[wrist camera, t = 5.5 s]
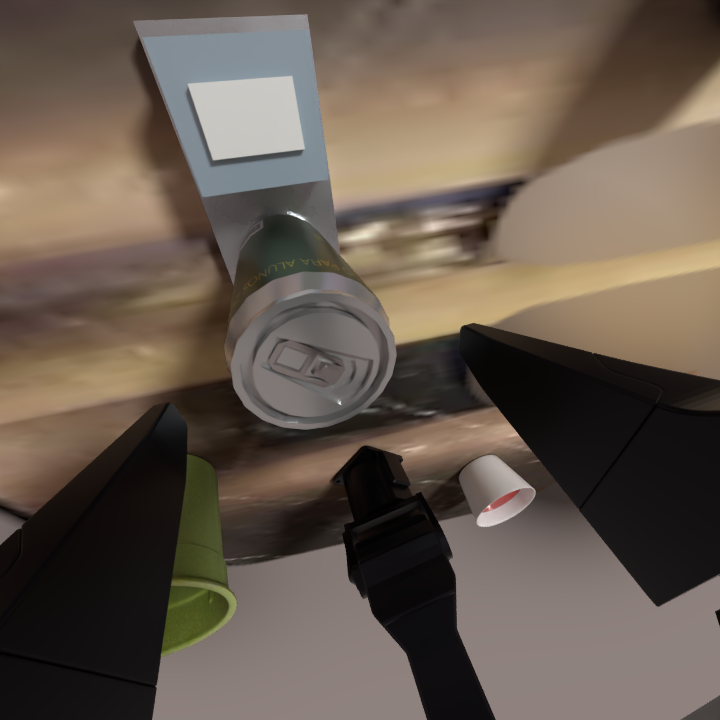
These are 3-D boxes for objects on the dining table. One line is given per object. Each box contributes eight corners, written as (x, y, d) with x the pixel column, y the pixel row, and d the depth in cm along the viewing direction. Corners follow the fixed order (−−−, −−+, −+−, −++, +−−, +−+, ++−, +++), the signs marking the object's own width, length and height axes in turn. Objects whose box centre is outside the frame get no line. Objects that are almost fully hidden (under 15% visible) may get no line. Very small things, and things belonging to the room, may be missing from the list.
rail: (352, 362, 25) (355, 368, 25) (272, 383, 24) (273, 390, 23) (304, 23, 13) (307, 14, 13) (141, 29, 12) (133, 20, 11)
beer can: (224, 276, 18) (191, 413, 8) (262, 191, 16) (274, 240, 6) (303, 312, 20) (346, 445, 11) (343, 243, 18) (435, 332, 9)
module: (320, 176, 16) (330, 179, 14) (208, 192, 15) (201, 198, 13) (301, 48, 13) (310, 27, 11) (159, 55, 12) (139, 34, 10)
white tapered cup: (440, 486, 44) (464, 528, 39) (476, 446, 40) (508, 486, 35) (478, 487, 48) (504, 525, 43) (514, 451, 44) (547, 488, 39)
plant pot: (259, 441, 27) (262, 575, 19) (221, 514, 32) (208, 650, 23) (102, 420, 22) (-3, 602, 13) (82, 513, 26) (-6, 696, 17)
